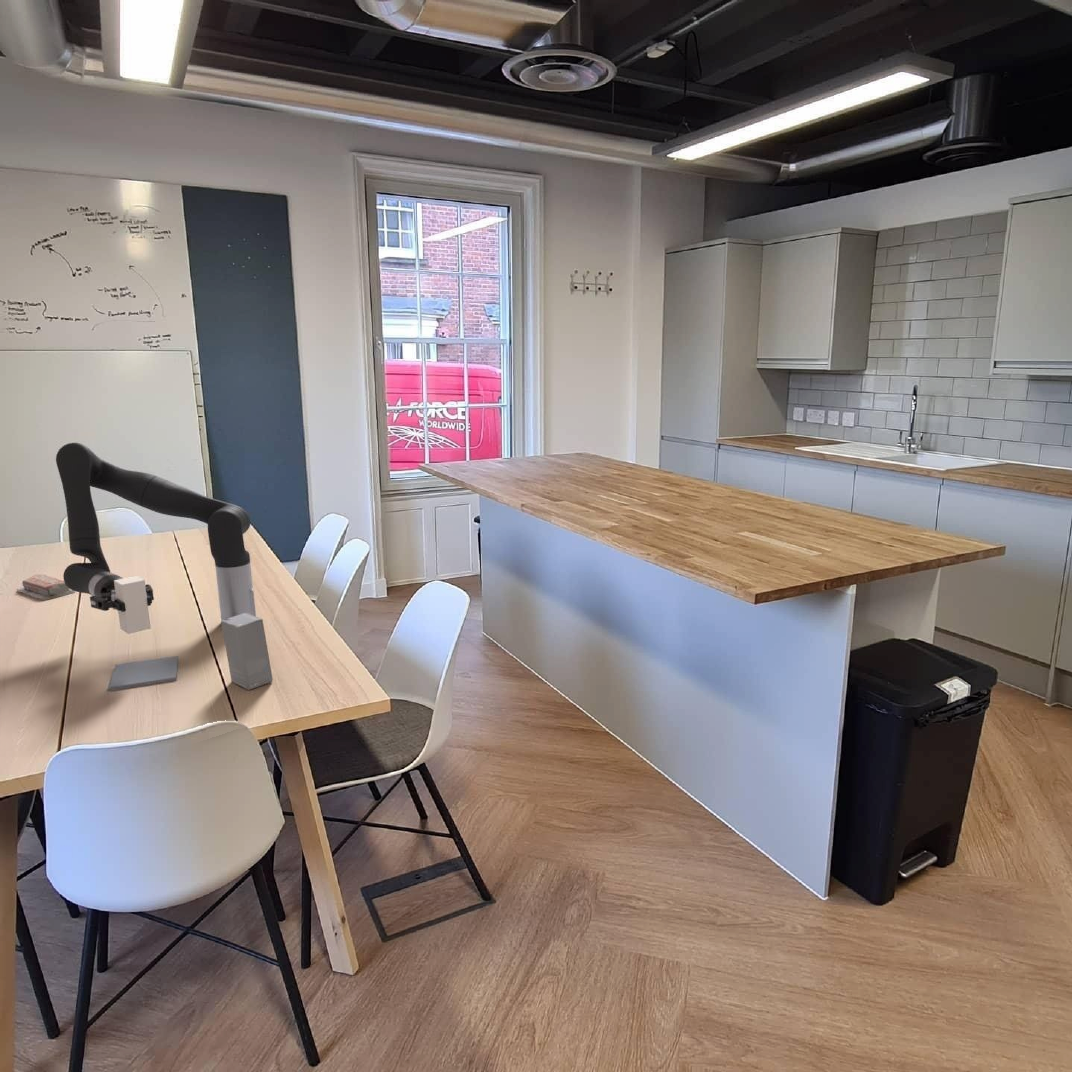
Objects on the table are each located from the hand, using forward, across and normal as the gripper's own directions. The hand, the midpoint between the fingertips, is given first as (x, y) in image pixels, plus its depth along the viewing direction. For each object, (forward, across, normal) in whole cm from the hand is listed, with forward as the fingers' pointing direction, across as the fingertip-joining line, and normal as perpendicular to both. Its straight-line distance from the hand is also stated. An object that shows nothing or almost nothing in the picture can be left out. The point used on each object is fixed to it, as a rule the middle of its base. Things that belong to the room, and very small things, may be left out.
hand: (136, 604), depth 177 cm
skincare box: (+22, +15, +18) cm, 32 cm away
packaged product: (-93, +4, +19) cm, 95 cm away
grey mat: (-1, 0, +18) cm, 18 cm away
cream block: (-3, 0, +7) cm, 7 cm away
